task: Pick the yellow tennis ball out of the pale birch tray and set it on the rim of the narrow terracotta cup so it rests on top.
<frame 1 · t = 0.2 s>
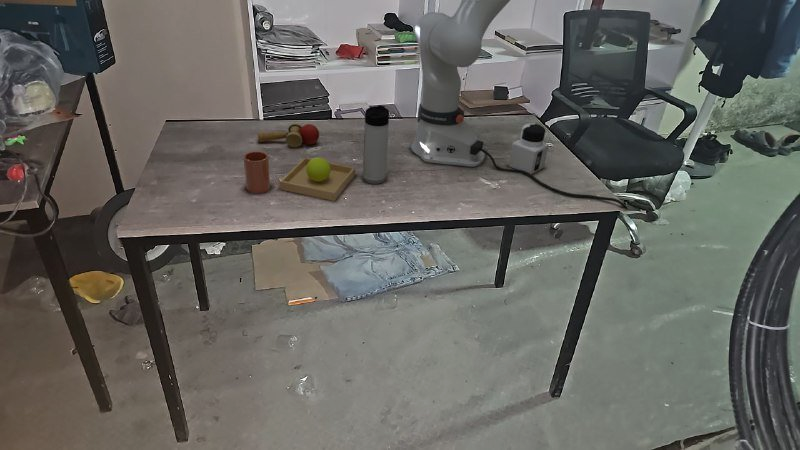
kendama: (289, 143, 170), on the table
tennis ball: (318, 169, 148), point 4 cm above the table, touching tray
tray: (318, 182, 151), on the table
cup: (258, 187, 146), on the table
container: (525, 167, 167), on the table
travel mug: (374, 179, 154), on the table
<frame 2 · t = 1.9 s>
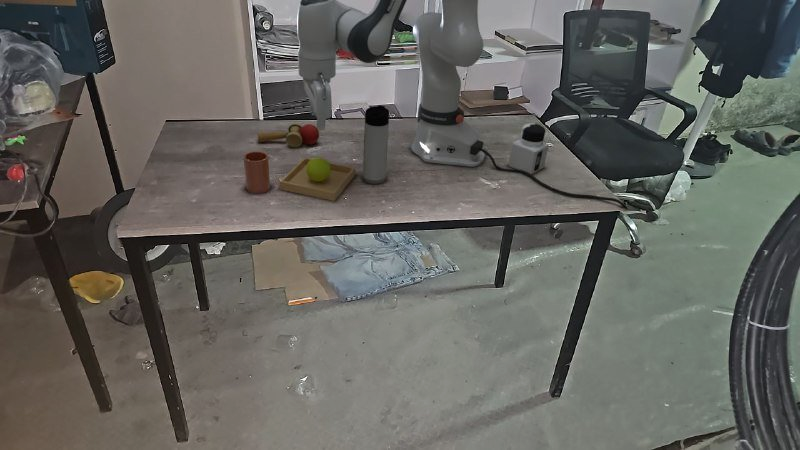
hand: (317, 121, 141), 17 cm above the table, tool pointing down, fingers open, 8 cm apart
nothing on the table moved.
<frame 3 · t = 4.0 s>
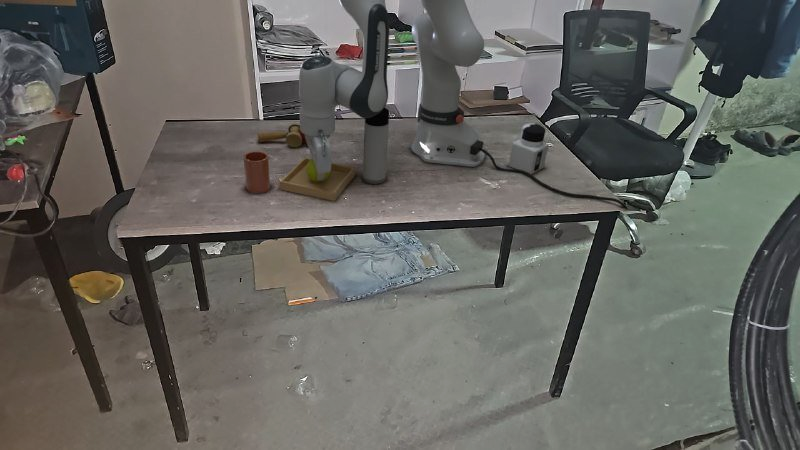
hand: (318, 172, 149), 3 cm above the table, tool pointing down, fingers closed on tennis ball, 6 cm apart
tennis ball: (318, 169, 148), point 4 cm above the table, touching gripper, tray
everything else where it was.
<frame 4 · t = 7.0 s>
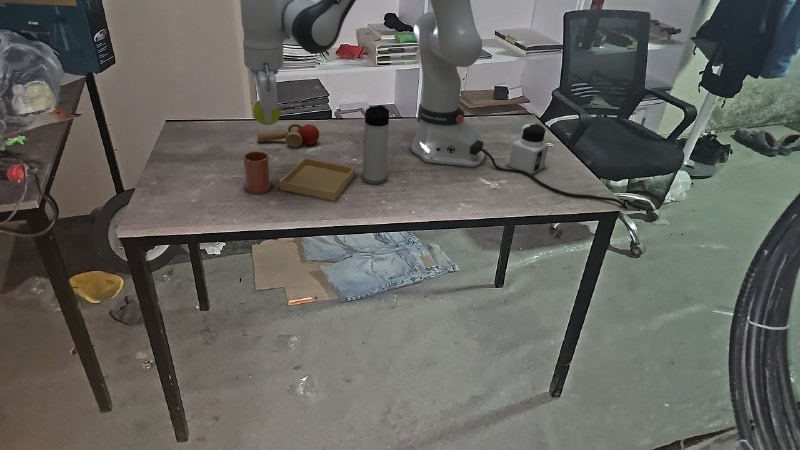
hand: (266, 114, 136), 20 cm above the table, tool pointing down, fingers closed on tennis ball, 6 cm apart
tennis ball: (266, 111, 136), point 21 cm above the table, touching gripper
everything else where it was.
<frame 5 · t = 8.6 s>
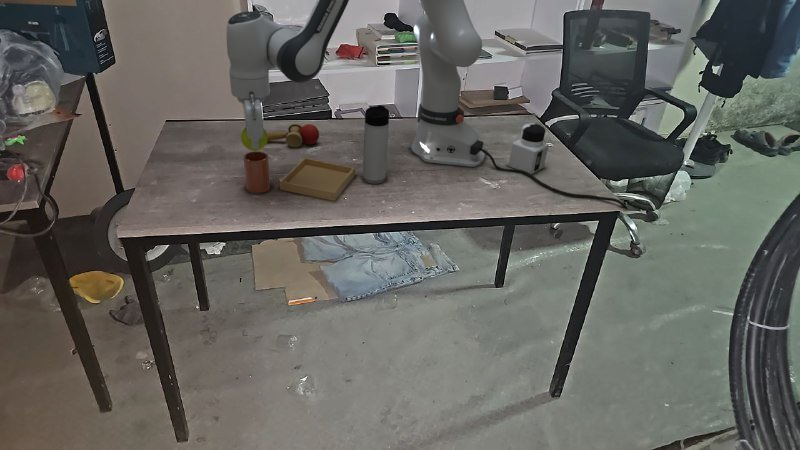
hand: (254, 140, 139), 13 cm above the table, tool pointing down, fingers closed on tennis ball, 6 cm apart
tennis ball: (254, 137, 138), point 14 cm above the table, touching gripper
everything else where it was.
when the fingers open (10 cm above the table, at t = 10.0 s): tennis ball stays where it is, resting on cup.
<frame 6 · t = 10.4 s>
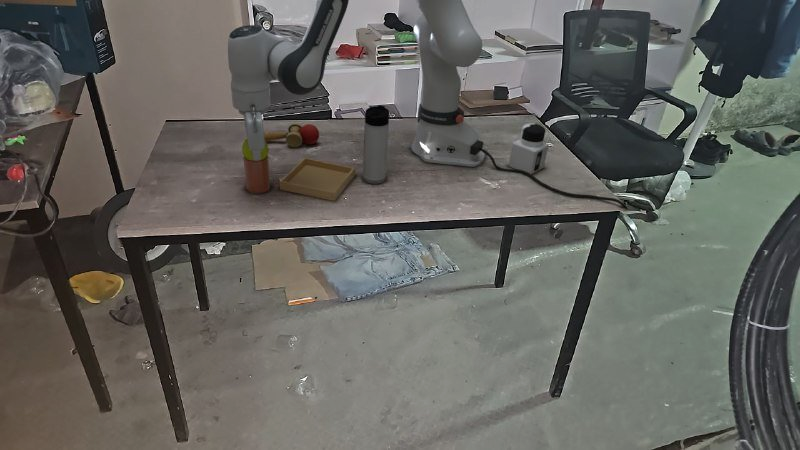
hand: (255, 151, 140), 10 cm above the table, tool pointing down, fingers open, 8 cm apart
tennis ball: (255, 149, 140), point 11 cm above the table, touching cup
cup: (258, 187, 146), on the table, touching tennis ball
everything else where it was.
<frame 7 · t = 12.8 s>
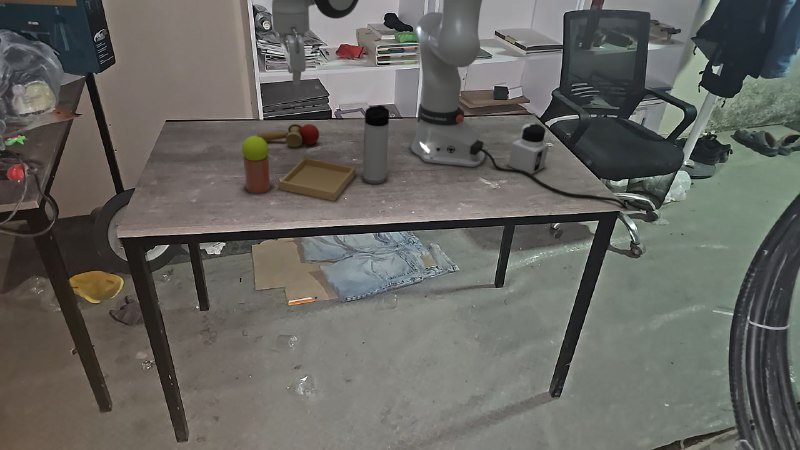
hand: (294, 78, 144), 25 cm above the table, tool pointing down, fingers open, 8 cm apart
nothing on the table moved.
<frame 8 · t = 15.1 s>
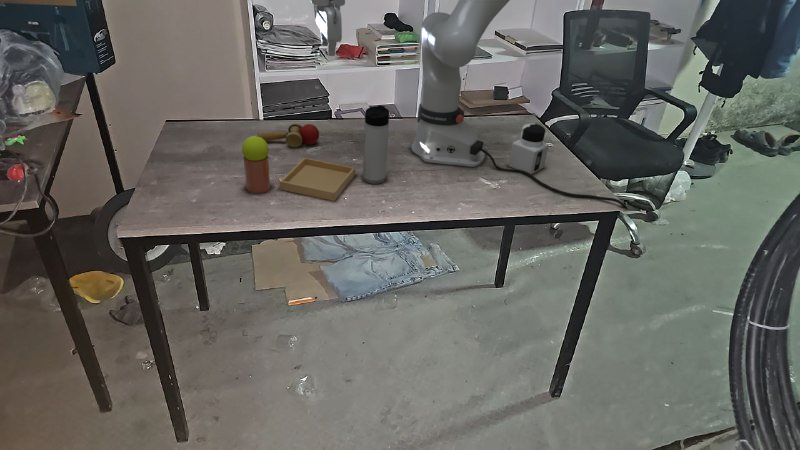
hand: (328, 50, 153), 29 cm above the table, tool pointing down, fingers open, 8 cm apart
nothing on the table moved.
at the end: tennis ball 0.0 cm off-centre on the cup, point 11.0 cm above the cup's base; cup tilted 0°; the gripper is holding nothing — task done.
